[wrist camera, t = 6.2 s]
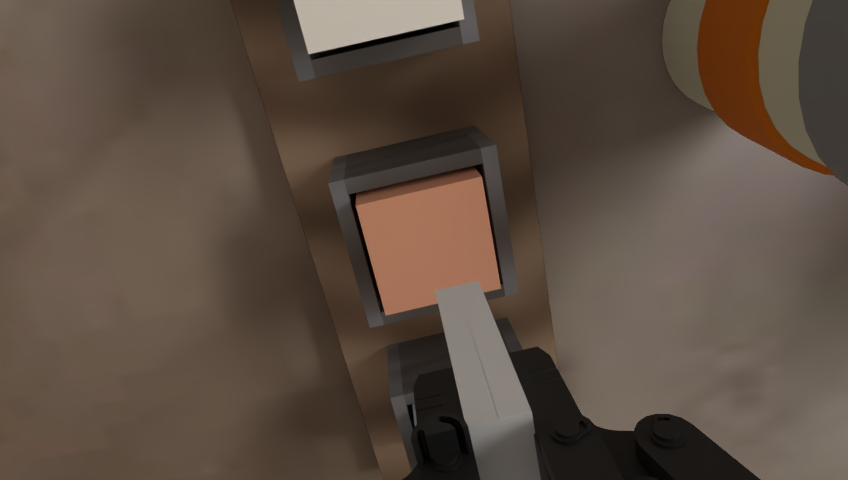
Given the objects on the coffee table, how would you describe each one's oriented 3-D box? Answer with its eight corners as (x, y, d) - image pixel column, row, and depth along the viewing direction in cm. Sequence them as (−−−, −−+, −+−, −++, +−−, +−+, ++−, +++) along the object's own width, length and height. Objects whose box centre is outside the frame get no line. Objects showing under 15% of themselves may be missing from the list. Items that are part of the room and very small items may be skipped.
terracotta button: (357, 175, 28) (355, 205, 23) (462, 151, 28) (481, 176, 23) (382, 270, 30) (385, 315, 25) (480, 248, 30) (501, 288, 25)
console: (184, -167, 24) (122, -233, 18) (470, -229, 24) (505, -315, 18) (383, 467, 38) (387, 549, 32) (560, 425, 38) (596, 499, 32)
